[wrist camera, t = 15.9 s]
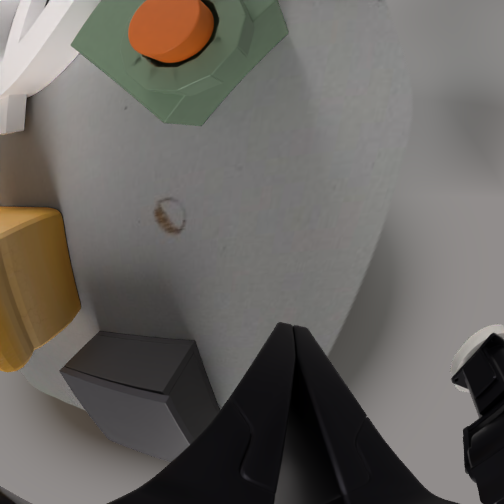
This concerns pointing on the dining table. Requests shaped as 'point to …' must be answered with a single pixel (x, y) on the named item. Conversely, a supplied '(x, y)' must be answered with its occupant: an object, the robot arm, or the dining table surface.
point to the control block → (187, 71)
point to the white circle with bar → (35, 50)
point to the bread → (33, 282)
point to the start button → (170, 29)
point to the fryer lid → (131, 415)
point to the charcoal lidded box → (153, 372)
